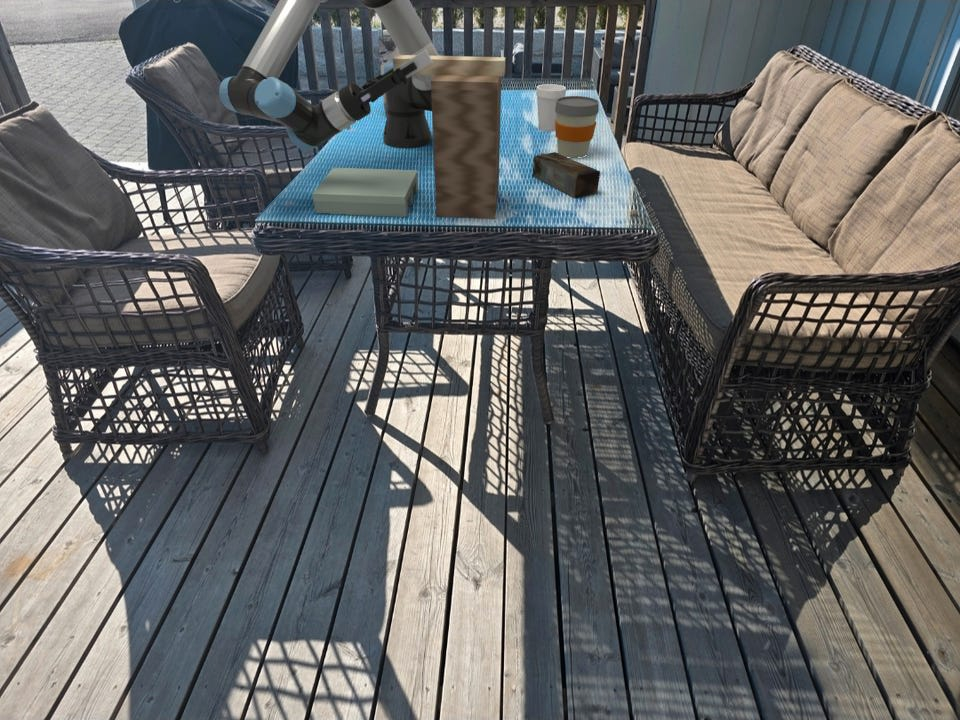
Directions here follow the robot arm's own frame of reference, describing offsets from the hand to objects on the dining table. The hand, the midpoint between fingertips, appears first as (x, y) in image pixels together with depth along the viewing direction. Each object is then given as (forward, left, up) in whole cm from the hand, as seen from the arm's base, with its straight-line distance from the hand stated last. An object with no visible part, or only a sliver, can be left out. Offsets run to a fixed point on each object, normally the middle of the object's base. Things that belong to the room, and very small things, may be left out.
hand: (431, 52), depth 128 cm
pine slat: (-2, +3, -4) cm, 5 cm away
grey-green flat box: (+7, -16, -34) cm, 38 cm away
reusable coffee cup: (-53, +14, -34) cm, 65 cm away
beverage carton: (-28, +22, -34) cm, 50 cm away
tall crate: (-3, +7, -34) cm, 35 cm away
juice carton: (-61, -56, -34) cm, 90 cm away
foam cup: (-73, -3, -34) cm, 81 cm away
